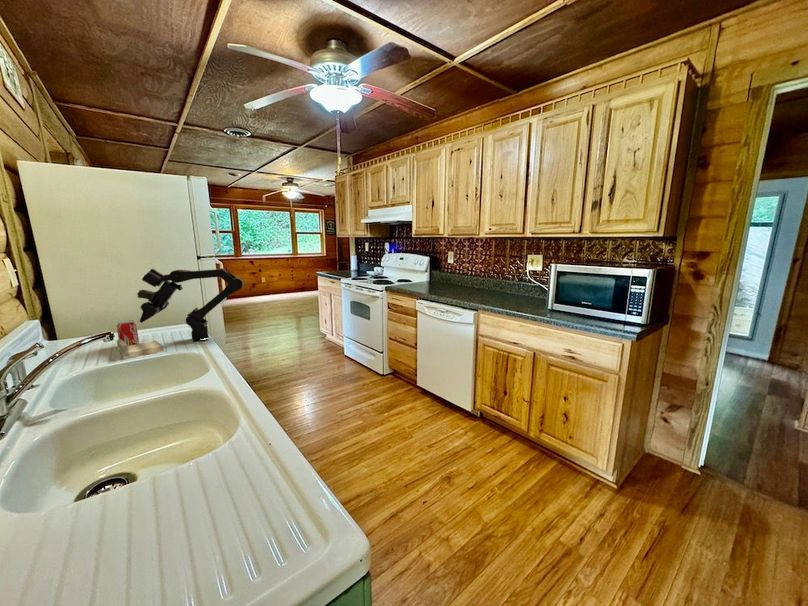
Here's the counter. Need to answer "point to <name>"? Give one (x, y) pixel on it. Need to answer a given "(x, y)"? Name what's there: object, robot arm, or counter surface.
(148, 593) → the counter surface
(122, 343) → the cleat stand
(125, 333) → the soda can
